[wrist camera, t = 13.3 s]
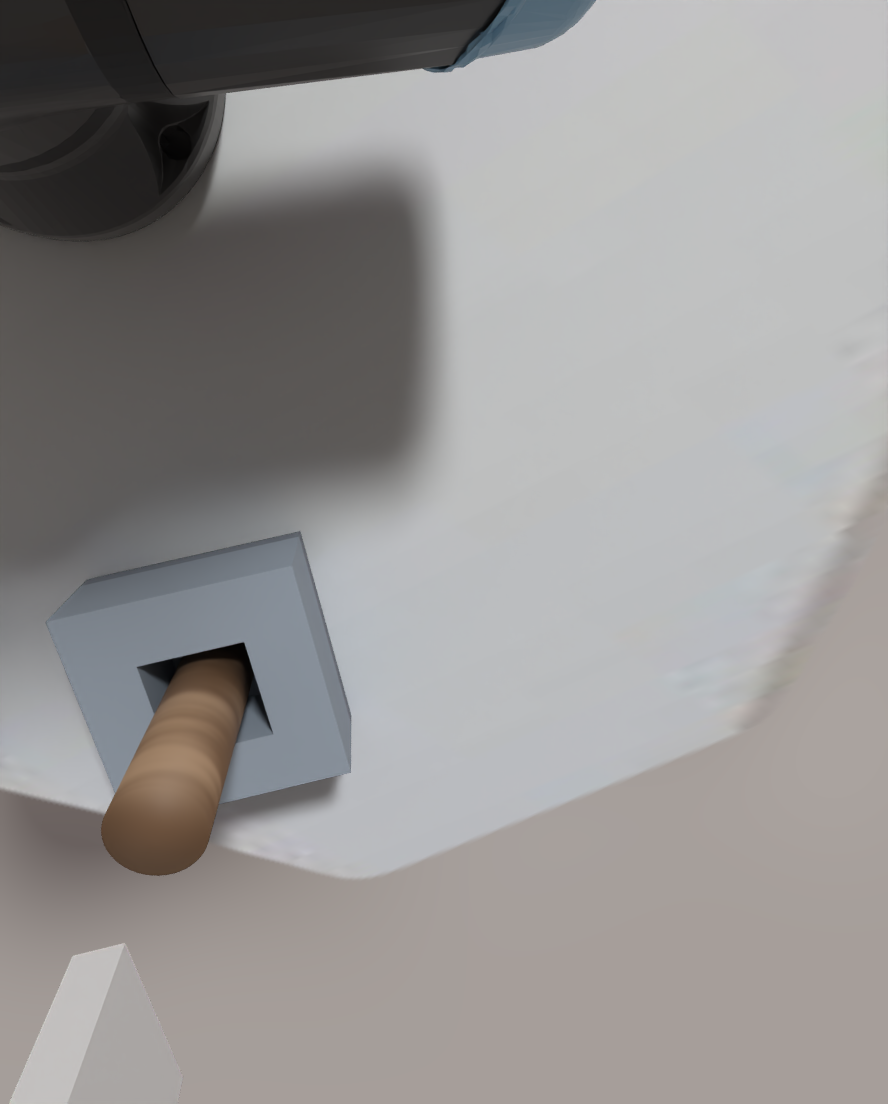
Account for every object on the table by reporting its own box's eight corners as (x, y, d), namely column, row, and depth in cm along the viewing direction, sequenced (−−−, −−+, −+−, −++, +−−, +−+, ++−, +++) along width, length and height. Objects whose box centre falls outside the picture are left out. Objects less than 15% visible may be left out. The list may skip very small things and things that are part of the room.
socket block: (86, 579, 43) (45, 622, 37) (300, 531, 43) (292, 565, 37) (156, 762, 46) (128, 826, 41) (351, 715, 47) (350, 772, 41)
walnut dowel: (174, 638, 43) (85, 802, 29) (245, 621, 43) (190, 776, 29) (197, 699, 44) (122, 886, 30) (265, 682, 44) (223, 860, 30)
